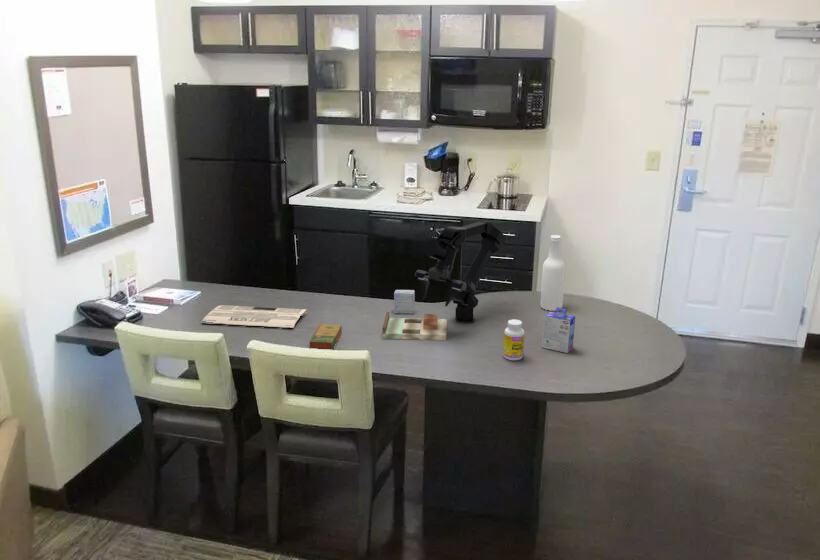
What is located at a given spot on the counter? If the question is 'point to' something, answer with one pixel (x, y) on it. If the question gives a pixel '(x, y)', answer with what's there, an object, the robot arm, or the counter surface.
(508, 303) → the counter surface
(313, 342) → the carton
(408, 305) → the medicine box
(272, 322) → the newspaper
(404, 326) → the trap board
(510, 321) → the supplement bottle
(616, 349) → the counter surface
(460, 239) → the robot arm
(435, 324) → the block
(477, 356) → the counter surface
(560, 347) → the ink cartridge box
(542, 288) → the alcohol
